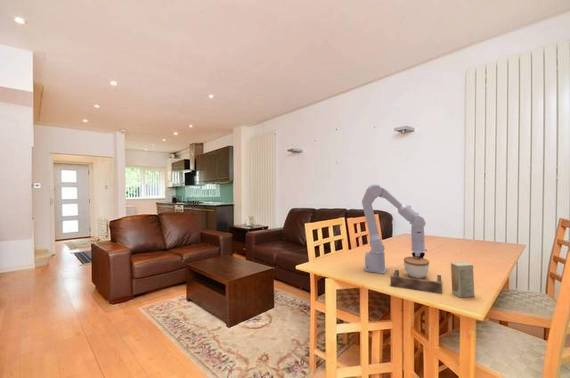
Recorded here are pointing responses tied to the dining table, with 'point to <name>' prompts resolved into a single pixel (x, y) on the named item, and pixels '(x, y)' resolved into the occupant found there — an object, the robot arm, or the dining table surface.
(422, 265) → the lidded jar
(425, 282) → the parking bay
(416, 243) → the robot arm
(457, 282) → the skincare box
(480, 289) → the dining table surface
